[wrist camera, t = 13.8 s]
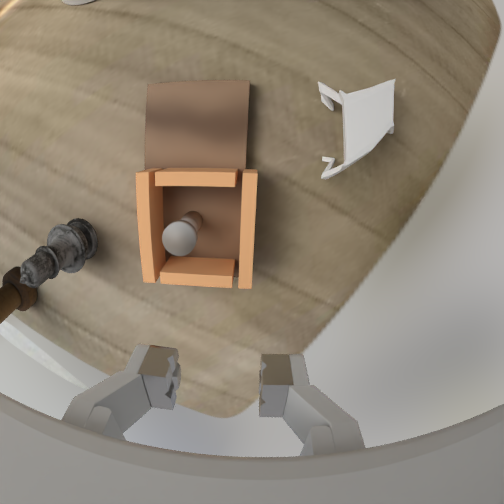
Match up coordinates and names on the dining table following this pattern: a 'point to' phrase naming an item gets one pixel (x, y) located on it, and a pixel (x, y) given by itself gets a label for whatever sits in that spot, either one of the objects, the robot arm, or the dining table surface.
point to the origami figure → (360, 120)
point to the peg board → (199, 162)
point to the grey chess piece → (60, 252)
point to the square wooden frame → (192, 268)
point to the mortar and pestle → (15, 294)
